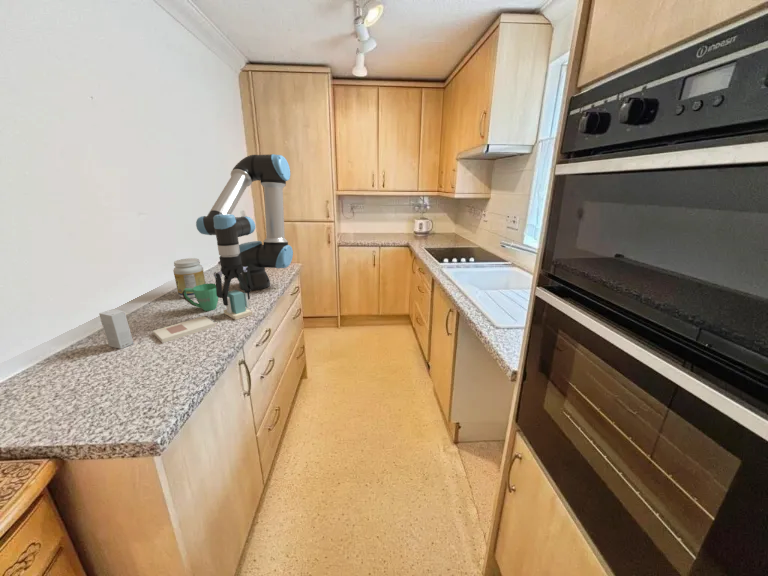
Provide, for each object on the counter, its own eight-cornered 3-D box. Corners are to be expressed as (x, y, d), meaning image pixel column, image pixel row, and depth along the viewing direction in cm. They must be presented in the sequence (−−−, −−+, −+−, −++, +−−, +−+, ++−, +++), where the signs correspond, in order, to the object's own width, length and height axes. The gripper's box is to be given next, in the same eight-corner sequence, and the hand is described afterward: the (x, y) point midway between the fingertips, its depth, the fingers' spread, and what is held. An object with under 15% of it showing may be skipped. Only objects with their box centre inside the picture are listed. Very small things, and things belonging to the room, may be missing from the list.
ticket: (206, 318, 126) (206, 315, 126) (217, 325, 120) (216, 322, 119) (153, 334, 113) (152, 330, 113) (163, 343, 107) (162, 339, 106)
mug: (225, 304, 141) (222, 283, 138) (216, 313, 132) (212, 290, 129) (191, 305, 140) (187, 284, 137) (180, 314, 130) (175, 291, 127)
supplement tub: (178, 293, 155) (171, 259, 149) (206, 289, 161) (200, 256, 156) (179, 300, 145) (171, 265, 140) (208, 295, 151) (202, 261, 146)
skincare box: (134, 343, 107) (125, 311, 103) (120, 349, 103) (110, 315, 99) (122, 340, 109) (112, 308, 105) (108, 346, 105) (98, 313, 101)
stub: (240, 308, 136) (237, 287, 133) (252, 314, 130) (249, 293, 127) (224, 313, 131) (220, 291, 128) (235, 320, 125) (231, 297, 122)
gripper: (249, 249, 132) (256, 301, 140) (199, 257, 118) (209, 314, 125) (258, 252, 128) (264, 305, 135) (207, 261, 113) (217, 319, 121)
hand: (238, 309), depth 130 cm, fingers open, 7 cm apart
